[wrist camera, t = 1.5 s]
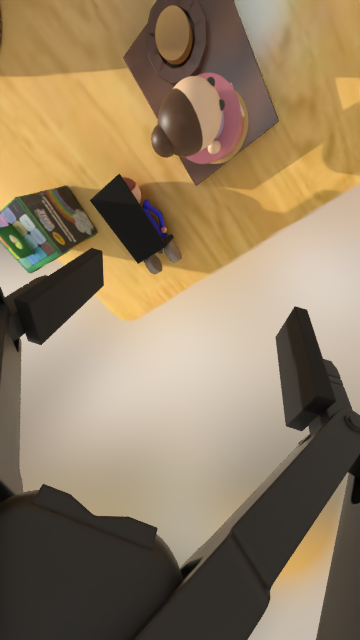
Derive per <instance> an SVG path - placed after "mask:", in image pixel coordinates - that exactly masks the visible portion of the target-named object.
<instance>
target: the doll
mask: <svg viewBox="0 0 360 640" xmlns="http://www.w3.org/2000/svg"><path fill="white" fill-rule="evenodd" d="M247 131H248V111H247V107H246V104H245V102H244V100H243V98H242V97H241V95H240V94H239V93H238V92H237V91H235V90H234V88H233V85H232V83H229V82H228V81H227V80H226V79H225V78H224V77H222V76H220V75H218V74H215V73H203V74H199V75H197V76H190V77H186V78H184V79H182V80H181V81H179V82H178V83H177V84H176V85H175V86H174V88H173V89H172V90H171V91H170V92H169V93H168V94H167V95H166V96H165V98H164V100H163V102H162V104H161V107H160V110H159V115H158V125H157V126H156V127H155V128H154V130H153V132H152V138H151V140H152V146H153V148H154V150H155V152H156V153H157V154H158V155H160V156H162V157H170V156H172V155H173V154H176V155H178V156H183V157H186V158H187V159H189V160H190V161H193V162H195V163H199V164H208V163H210V164H220V163H223V162H226V161H228V160H229V159H231V158H232V157H233V156H234V155H235V154H236V153H237V152H238V151H239V150H240V148H241V147H242V145H243V143H244V141H245V138H246V135H247Z"/></svg>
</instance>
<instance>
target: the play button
mask: <svg viewBox="0 0 360 640" xmlns="http://www.w3.org/2000/svg"><path fill="white" fill-rule="evenodd" d="M155 39H156V45H157V48H158V50H159V52H160V54H161V55H162V56H163V57H164V58H165V59H166V60H167V61H168V62H169V63H170V64H173V65H179V64H181V63H183V62H184V61H185V60H186V59H187V57H188V56H189V54H190V51H191V48H192V43H193V33H192V28H191V25H190V22H189V20H188V18H187V17H186V15H185V13H184V11H183V10H182V9H181V8H179V7H178V6H173V5H172V6H168V7H167V8H165V9H164V10H163V11H162V12H161V14H160V16H159V18H158V20H157V24H156V29H155Z"/></svg>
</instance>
